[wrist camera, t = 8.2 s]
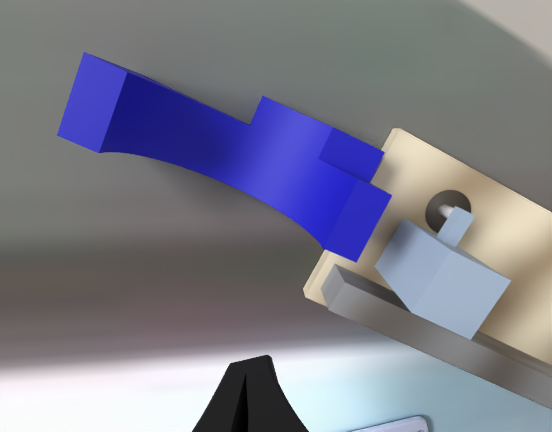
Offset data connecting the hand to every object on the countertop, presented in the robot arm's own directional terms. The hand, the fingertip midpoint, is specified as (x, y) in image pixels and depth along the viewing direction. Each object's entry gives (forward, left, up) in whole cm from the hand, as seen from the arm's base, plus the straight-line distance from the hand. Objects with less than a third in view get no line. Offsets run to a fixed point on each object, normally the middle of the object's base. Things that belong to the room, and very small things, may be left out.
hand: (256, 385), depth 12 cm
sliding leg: (0, -9, -8) cm, 12 cm away
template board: (-5, -14, -9) cm, 18 cm away
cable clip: (+7, -1, -10) cm, 12 cm away
